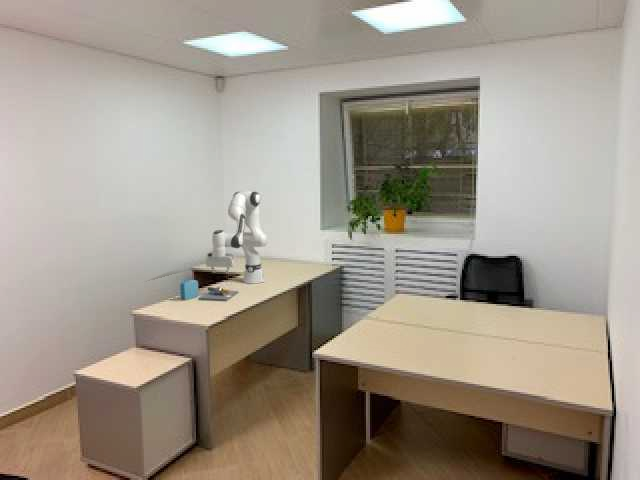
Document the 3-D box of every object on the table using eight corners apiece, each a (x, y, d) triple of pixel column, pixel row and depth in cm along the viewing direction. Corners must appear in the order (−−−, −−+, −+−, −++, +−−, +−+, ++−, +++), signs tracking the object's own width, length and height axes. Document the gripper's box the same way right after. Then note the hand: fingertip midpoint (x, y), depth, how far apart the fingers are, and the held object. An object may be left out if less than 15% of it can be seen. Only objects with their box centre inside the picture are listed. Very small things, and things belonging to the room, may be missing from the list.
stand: (212, 291, 353) (212, 288, 352) (239, 293, 348) (239, 290, 348) (198, 299, 331) (198, 296, 331) (227, 301, 327) (227, 298, 327)
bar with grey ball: (205, 293, 342) (205, 286, 342) (211, 291, 347) (211, 284, 347) (226, 296, 332) (226, 289, 331) (232, 294, 337) (232, 287, 336)
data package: (194, 296, 342) (193, 279, 340) (198, 296, 339) (198, 280, 338) (180, 299, 332) (179, 282, 330) (185, 300, 330) (184, 283, 328)
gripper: (235, 253, 341) (236, 272, 344) (208, 252, 346) (209, 271, 348) (231, 254, 335) (232, 274, 338) (204, 254, 339) (205, 273, 342)
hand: (220, 272), depth 343 cm, fingers open, 8 cm apart
